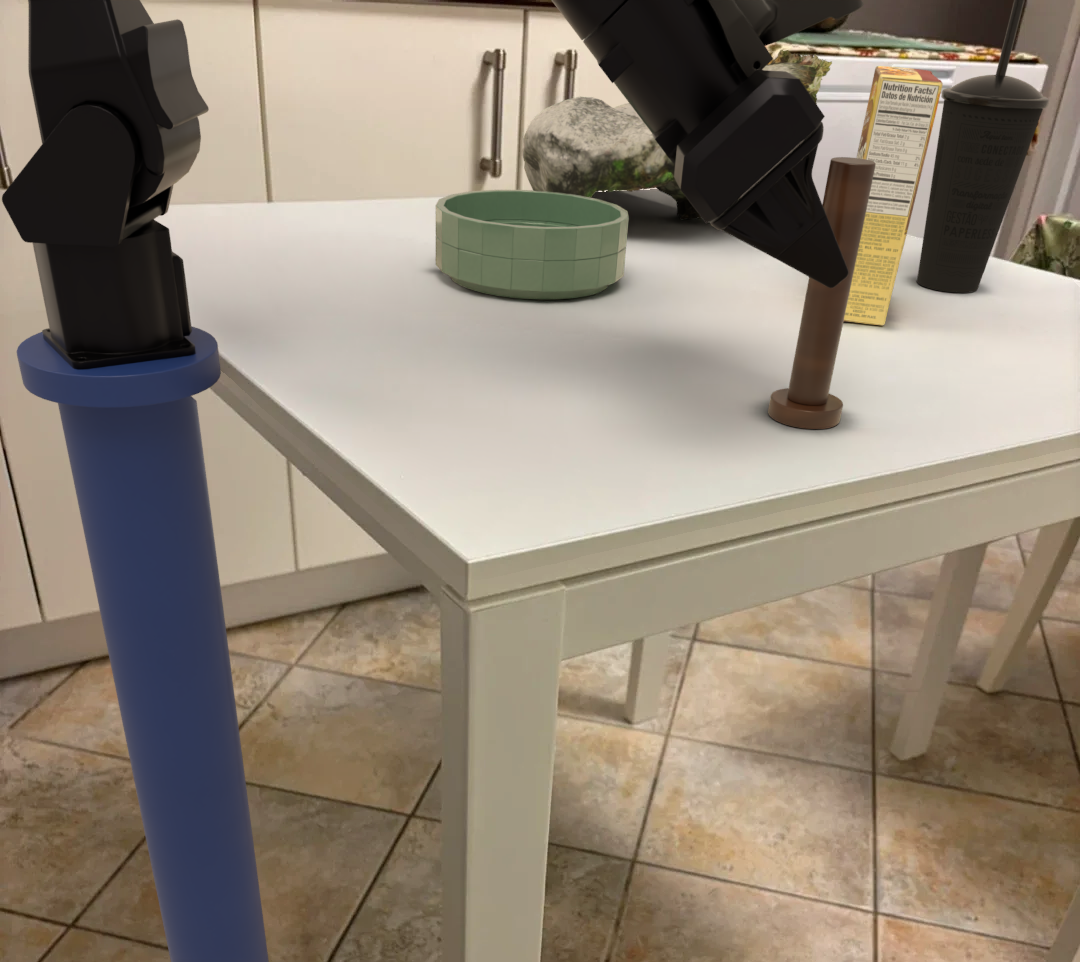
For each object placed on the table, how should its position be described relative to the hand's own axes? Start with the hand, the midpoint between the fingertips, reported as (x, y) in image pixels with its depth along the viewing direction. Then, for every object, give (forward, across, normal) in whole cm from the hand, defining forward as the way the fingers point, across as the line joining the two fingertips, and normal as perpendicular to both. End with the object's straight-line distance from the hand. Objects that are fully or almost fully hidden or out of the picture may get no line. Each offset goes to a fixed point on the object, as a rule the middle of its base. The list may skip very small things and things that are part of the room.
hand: (821, 259), depth 57 cm
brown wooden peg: (+6, 0, +6) cm, 8 cm away
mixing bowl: (-5, +28, +17) cm, 33 cm away
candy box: (+12, +24, 0) cm, 27 cm away
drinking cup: (+19, +34, -7) cm, 39 cm away
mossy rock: (+4, +56, +9) cm, 57 cm away
